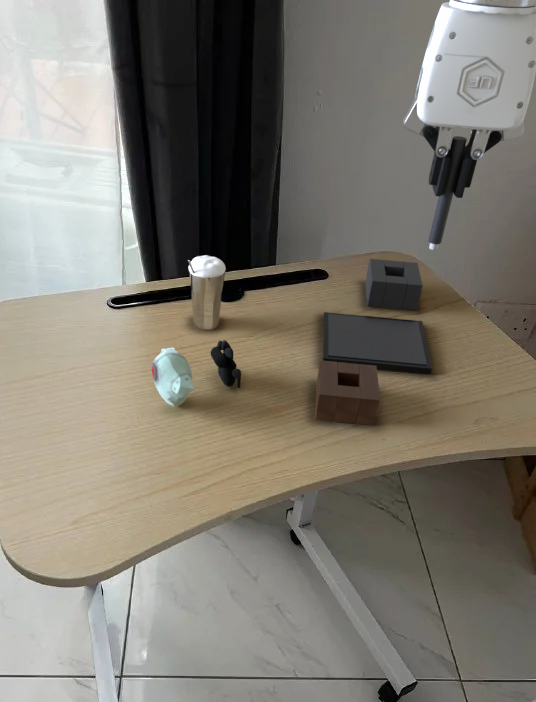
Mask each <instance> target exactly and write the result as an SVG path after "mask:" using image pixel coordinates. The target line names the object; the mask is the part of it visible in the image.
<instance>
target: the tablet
mask: <svg viewBox="0 0 536 702" xmlns="http://www.w3.org/2000/svg"><path fill="white" fill-rule="evenodd" d="M322 315H323V316H322V361H333V362H337V363H338V362H342V363H352V364H363V365H373V366H377V370H380V371H390V372H400V373H401V372H402V373H411V374H422V375H432V372H433V366H432V361H431V357H430V351H429V347H428V342H427V338H426V333H425V328H424V323H423V321H422V320H415V319H414V320H413V319H404V318H403V319H402V318H392V317H382V316H369V315H361V314H360V315H358V314H349V313H337V312H326V311H324V312H323V314H322Z"/></svg>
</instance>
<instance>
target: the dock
mask: <svg viewBox="0 0 536 702" xmlns="http://www.w3.org/2000/svg"><path fill="white" fill-rule="evenodd" d="M418 264H419V263H418V262H413V261H412V262H411V261H401V260H391V259H390V260H389V259H379V258H369V259H368V266H367V271H366V278H365V283H364V286H365V296H366V306H367V307H370V308H380V309H381V308H382V309H392V310H404V311H413V312H415V311H416V312H417V311H418V307H419V303H420V299H421V294H422V290H423V286H424V285H423V281H422V277H421V272H420V268H419V265H418Z"/></svg>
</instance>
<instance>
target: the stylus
mask: <svg viewBox="0 0 536 702" xmlns="http://www.w3.org/2000/svg"><path fill="white" fill-rule="evenodd" d="M451 138H452V140H451V142H450V146H449V149H450V154H449V156H450V158H451V164H450V169H449V173H448V177H447V181H446V185H445V189H444V194H443V195H441V196H438V199H437V202H436V207H435V211H434V215H433V220H432V224H431V228H430V232H429V236H428V243H429V247H428V248H429V250H431V251H437V250H438V248H439V245H440V244H442V241H443V237H444V233H445V229H446V225H447V221H448V217H449V213H450V209H451V205H452V201H453V198H454V189H455V185H456V181H457V177H458V173H459V169H460V165H461V161H462V157H463V153H464V149H465V146H466V145H467V142H468V139H467V137H465V136H458V135H456V136H453V137H451Z"/></svg>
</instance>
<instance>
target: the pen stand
mask: <svg viewBox="0 0 536 702" xmlns="http://www.w3.org/2000/svg"><path fill="white" fill-rule="evenodd" d="M380 403H381V396H380V385H379V376H378V369H377V366H373V365H363V364H352V363H342V362H338V363H337V362H333V361H323V359H322V360H321V359H320V360H319V362H318V372H317V377H316V384H315V418H314V419H315V420H317V421H327V422H336V423H345V424H355V425H356V424H358V425H367V426H375V425H376V420H377V416H378V411H379V407H380Z"/></svg>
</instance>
